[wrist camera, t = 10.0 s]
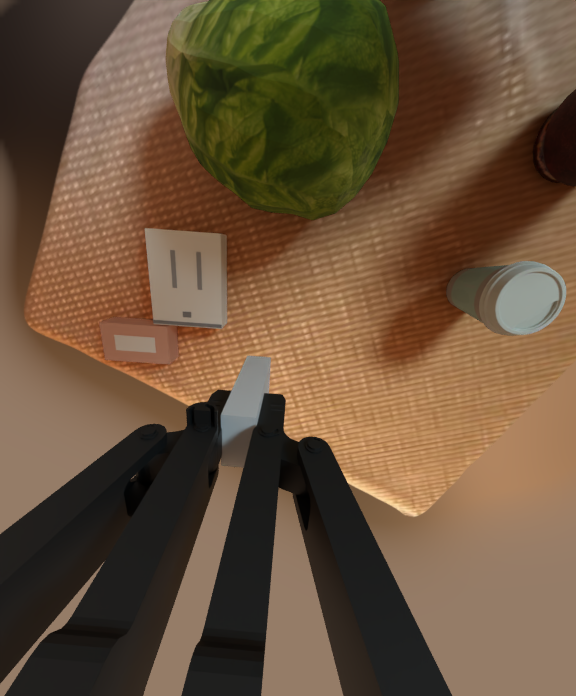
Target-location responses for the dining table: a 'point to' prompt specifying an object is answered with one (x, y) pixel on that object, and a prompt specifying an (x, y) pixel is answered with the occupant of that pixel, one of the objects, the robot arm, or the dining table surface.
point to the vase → (558, 144)
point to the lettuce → (286, 97)
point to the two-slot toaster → (187, 277)
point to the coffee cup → (509, 296)
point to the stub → (138, 340)
